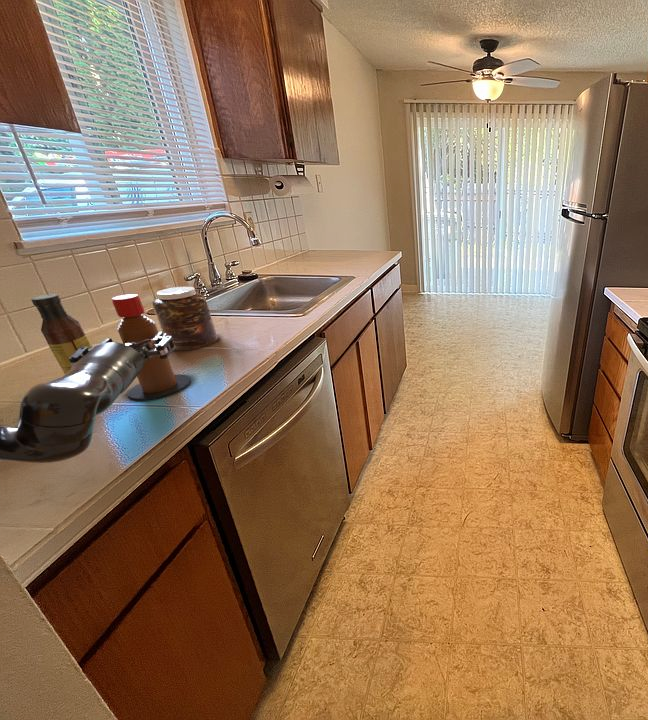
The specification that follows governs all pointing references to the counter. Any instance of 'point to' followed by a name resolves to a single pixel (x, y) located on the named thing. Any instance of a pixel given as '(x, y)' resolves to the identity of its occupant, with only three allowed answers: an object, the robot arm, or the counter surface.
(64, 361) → the sauce bottle
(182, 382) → the coaster
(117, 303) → the cap
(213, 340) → the jar
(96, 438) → the counter surface
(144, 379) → the bottle
